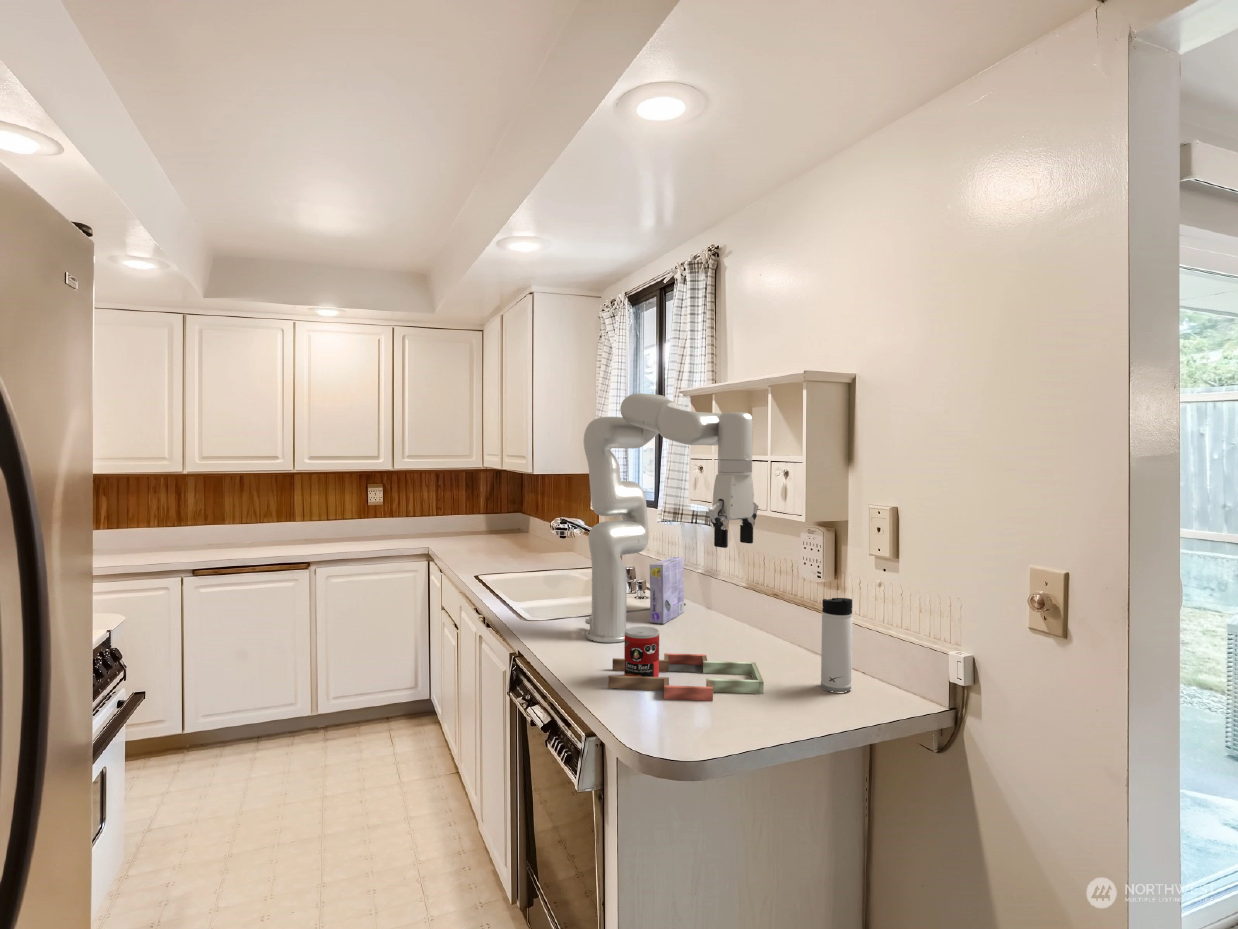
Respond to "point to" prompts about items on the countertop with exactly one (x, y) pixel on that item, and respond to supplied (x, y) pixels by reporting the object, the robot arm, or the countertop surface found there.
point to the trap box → (691, 665)
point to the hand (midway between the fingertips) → (733, 545)
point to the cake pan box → (666, 589)
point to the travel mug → (836, 644)
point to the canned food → (641, 652)
